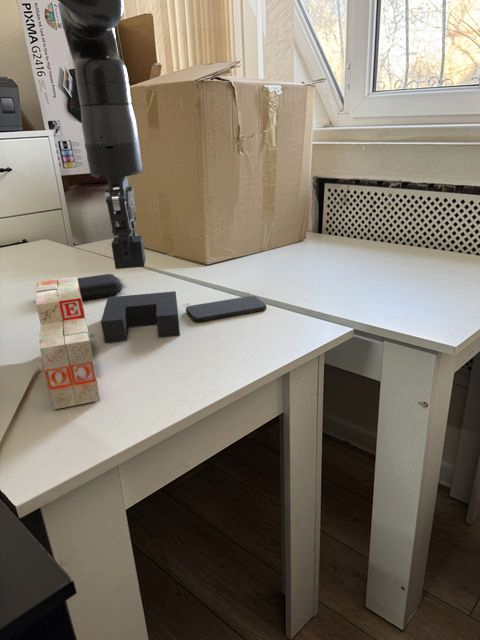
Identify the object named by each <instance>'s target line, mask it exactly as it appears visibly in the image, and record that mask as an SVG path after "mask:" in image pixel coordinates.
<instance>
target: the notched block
mask: <svg viewBox="0 0 480 640" xmlns="http://www.w3.org/2000/svg"><path fill="white" fill-rule="evenodd" d="M100 325H101V329H102V335H103V340H104V343H116V342H125V341H127V339H128V334H129V333H128V332H129V328H132V327H133V328H134V327H144V326H153V325H154V326H155V325H156V326H157V335H158V338H166V337H177V336H180V335H181V331H180V321H179V310H178V301H177V292H176V290H174V291H165V292H164V291H163V292H151V293H140V294H139V293H138V294H128V295H119V296H118V295H117V296H116V295H115V296H107V298H106V303H105V306H104V310H103V313H102V317H101V320H100Z"/></svg>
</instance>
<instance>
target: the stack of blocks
mask: <svg viewBox="0 0 480 640" xmlns="http://www.w3.org/2000/svg"><path fill="white" fill-rule="evenodd" d="M77 278H78V276H73V277H72V276H71V277H65V278H58V279H50V280H49V279H48V280H43V281H37V282H36V286H35V306H36V310H37V314H38V319H39V322H40V331H39V344H40V346H39V349H40V350H39V351H40V354H41V357H42V362H43V367H44V374H45V379H46V383H47V387H48V388H47V389H48V392H49V395H50V400H51V403H52V408H53V410H58V409H64V408H67V407H68V408H69V407H73V406H74V407H75V406H79V405H84V404H88V403H93V402H98V401H100V400H101V399H100V394H99V386H98V380H97V373H96V369H95V363H94V357H93V356H94V355H93V350H92V344H91V339H90V334H89V328H88V326H87V321H86V315H85V308H84V304H83V300H82V298H81V294H80V289H79V284H78V279H77Z"/></svg>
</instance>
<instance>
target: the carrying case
mask: <svg viewBox="0 0 480 640" xmlns="http://www.w3.org/2000/svg"><path fill="white" fill-rule="evenodd" d="M77 279H78V284H79V289H80V294H81V298H82V301H85V300H86V301H87V300H92V299H98V298H105V297H111V296H116V295H119V294H120V293H121V291H122V290H123V287H124V286H123V284H122V283H121V281H120V280H119V278H118V277H117V276H115V275H114V274H112V273H106V274H98V275H90V276H84V277H77Z"/></svg>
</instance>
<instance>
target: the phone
mask: <svg viewBox="0 0 480 640" xmlns="http://www.w3.org/2000/svg"><path fill="white" fill-rule="evenodd" d="M266 309H267V304H266V303H265V302H264V301H262V300H261V299H260V298H258V297H257V296H253V295H248V296H242V297H235V298H229V299H224V300H217V301H211V302H205V303H198V304H193V305H187V306H186V307H185V312H186V314H188V316H189V317H190V318H191V319H192V320H193V321H195V322H203V321H209V320H214V319H221V318H225V317H233V316H237V315H242V314H248V313H249V314H250V313H255V312H260V311H261V312H262V311H265V310H266Z"/></svg>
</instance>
